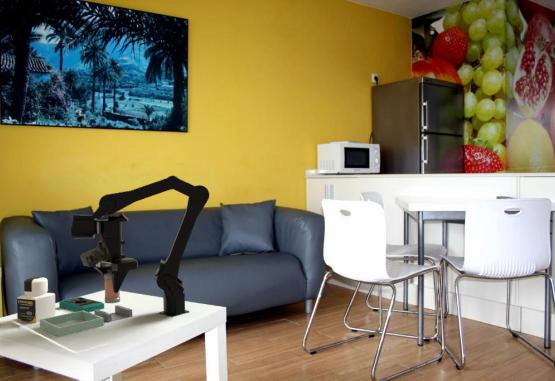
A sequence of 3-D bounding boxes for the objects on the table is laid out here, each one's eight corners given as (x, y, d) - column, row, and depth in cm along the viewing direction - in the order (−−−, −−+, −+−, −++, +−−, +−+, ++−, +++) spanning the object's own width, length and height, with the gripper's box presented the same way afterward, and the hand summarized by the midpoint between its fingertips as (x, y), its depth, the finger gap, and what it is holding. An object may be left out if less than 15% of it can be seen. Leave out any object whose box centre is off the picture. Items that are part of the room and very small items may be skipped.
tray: (103, 327, 128) (103, 317, 128) (58, 338, 119) (58, 328, 119) (83, 319, 136) (83, 310, 136) (39, 328, 127) (39, 319, 127)
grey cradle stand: (132, 317, 137) (132, 309, 137) (108, 323, 131) (108, 315, 131) (118, 313, 142) (117, 305, 142) (94, 318, 137) (94, 310, 137)
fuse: (122, 301, 137) (122, 273, 137) (109, 304, 134) (108, 275, 134) (115, 299, 140) (115, 271, 139) (102, 301, 136) (101, 274, 136)
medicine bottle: (16, 322, 134) (15, 279, 134) (37, 315, 141) (37, 275, 141) (35, 324, 132) (34, 281, 132) (56, 317, 138) (55, 276, 138)
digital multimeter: (79, 304, 156) (79, 295, 156) (105, 311, 146) (105, 301, 146) (57, 309, 150) (57, 299, 150) (83, 316, 141) (82, 306, 141)
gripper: (68, 238, 137) (70, 292, 137) (100, 242, 124) (101, 302, 124) (105, 234, 145) (106, 285, 145) (138, 238, 132) (139, 294, 133)
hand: (112, 291), depth 137 cm, fingers closed on fuse, 4 cm apart
